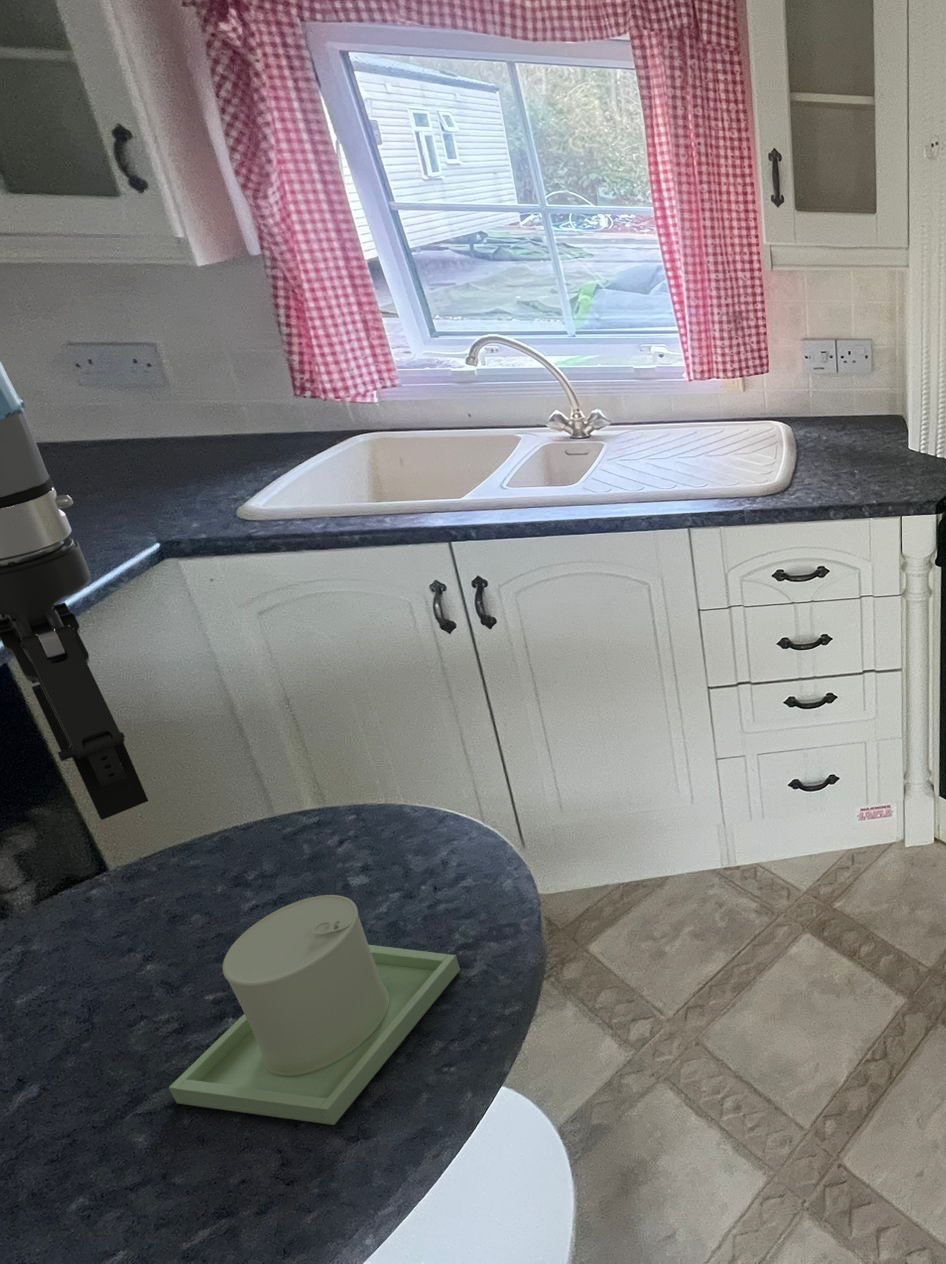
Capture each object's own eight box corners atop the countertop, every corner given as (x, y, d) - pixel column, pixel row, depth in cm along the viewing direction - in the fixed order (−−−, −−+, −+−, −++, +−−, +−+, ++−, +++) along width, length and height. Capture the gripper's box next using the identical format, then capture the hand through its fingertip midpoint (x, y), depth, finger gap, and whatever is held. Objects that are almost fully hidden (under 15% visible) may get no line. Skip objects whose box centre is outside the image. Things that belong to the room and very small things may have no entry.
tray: (176, 1103, 70) (167, 1087, 69) (326, 953, 84) (320, 938, 83) (334, 1125, 69) (327, 1109, 68) (460, 969, 83) (456, 954, 82)
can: (372, 1056, 74) (336, 961, 69) (243, 1092, 71) (196, 996, 66) (401, 968, 82) (371, 878, 77) (287, 998, 79) (248, 906, 74)
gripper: (116, 581, 59) (208, 812, 67) (40, 496, 72) (125, 699, 79) (-49, 622, 53) (73, 870, 61) (-100, 522, 66) (6, 738, 73)
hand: (102, 774), depth 70 cm, fingers open, 13 cm apart
